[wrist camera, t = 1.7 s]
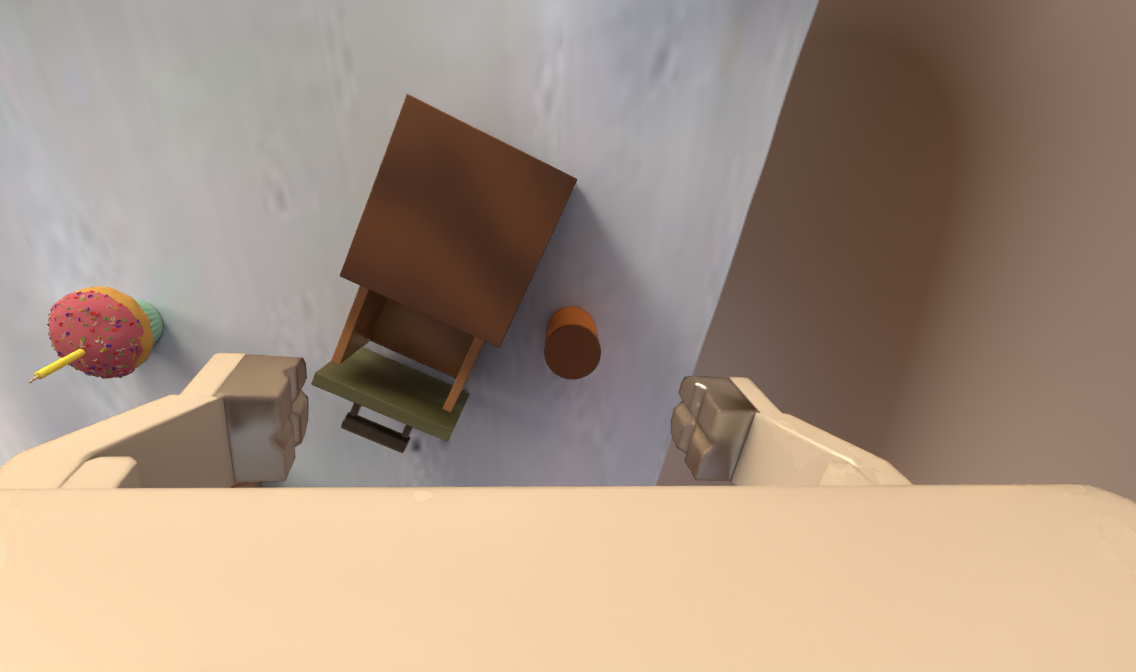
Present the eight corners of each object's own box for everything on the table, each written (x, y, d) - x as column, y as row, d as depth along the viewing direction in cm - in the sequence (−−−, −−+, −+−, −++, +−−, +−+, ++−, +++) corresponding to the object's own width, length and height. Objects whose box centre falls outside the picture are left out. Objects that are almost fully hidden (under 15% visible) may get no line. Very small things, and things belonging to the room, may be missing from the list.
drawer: (450, 434, 57) (430, 478, 48) (337, 387, 55) (295, 423, 47) (518, 286, 53) (510, 306, 44) (398, 230, 51) (365, 239, 43)
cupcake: (187, 361, 55) (89, 407, 44) (104, 361, 55) (-16, 407, 44) (172, 279, 53) (63, 304, 42) (85, 279, 53) (-48, 304, 42)
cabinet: (511, 317, 55) (499, 348, 44) (383, 258, 53) (339, 276, 42) (574, 180, 51) (577, 179, 41) (439, 113, 49) (406, 93, 39)
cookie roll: (559, 298, 54) (559, 316, 47) (603, 319, 55) (610, 340, 47) (538, 341, 55) (535, 365, 48) (582, 361, 56) (585, 388, 48)
